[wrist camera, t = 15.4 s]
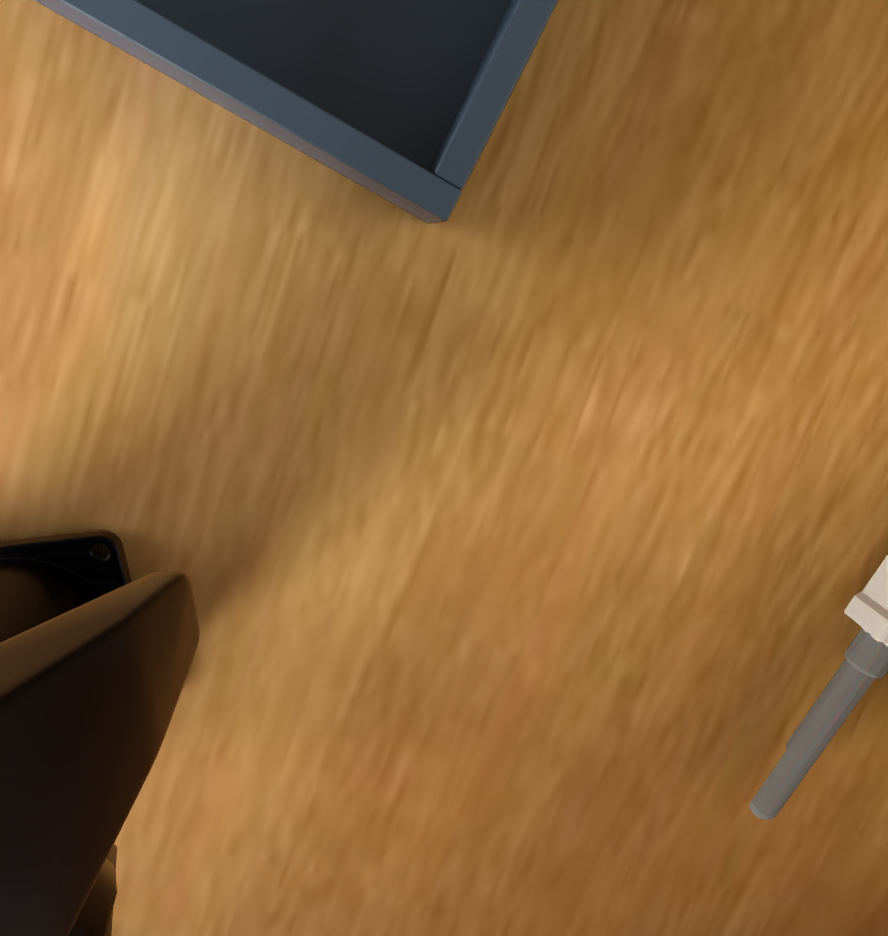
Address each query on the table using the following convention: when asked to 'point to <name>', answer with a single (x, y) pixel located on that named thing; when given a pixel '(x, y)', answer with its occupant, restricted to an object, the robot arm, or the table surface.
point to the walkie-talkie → (833, 696)
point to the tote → (344, 76)
